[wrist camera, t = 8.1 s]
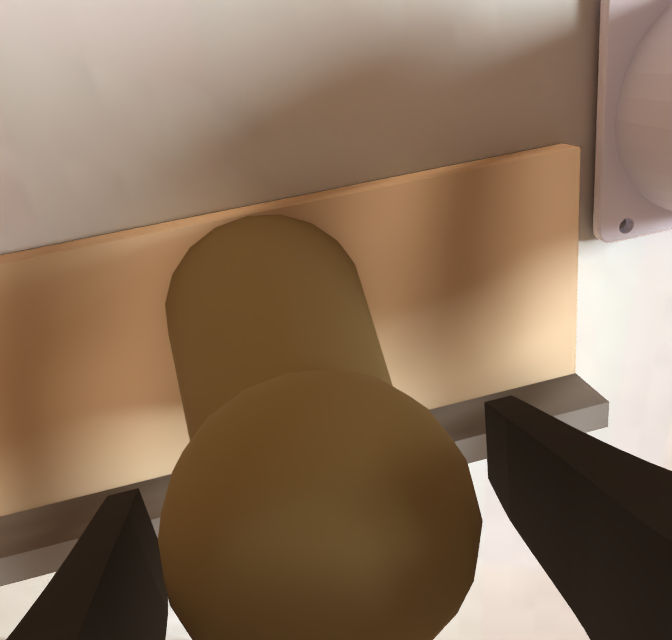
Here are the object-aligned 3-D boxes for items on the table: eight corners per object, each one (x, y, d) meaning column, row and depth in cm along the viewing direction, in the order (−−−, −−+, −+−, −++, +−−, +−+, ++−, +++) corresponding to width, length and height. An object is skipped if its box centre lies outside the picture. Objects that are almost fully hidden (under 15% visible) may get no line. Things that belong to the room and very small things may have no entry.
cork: (134, 361, 18) (50, 731, 8) (214, 178, 16) (229, 362, 6) (311, 421, 20) (416, 771, 10) (398, 263, 18) (622, 500, 9)
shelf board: (562, 142, 19) (621, 157, 16) (560, 385, 23) (607, 429, 20) (-101, 275, 17) (-160, 317, 14) (21, 520, 21) (-7, 590, 18)
